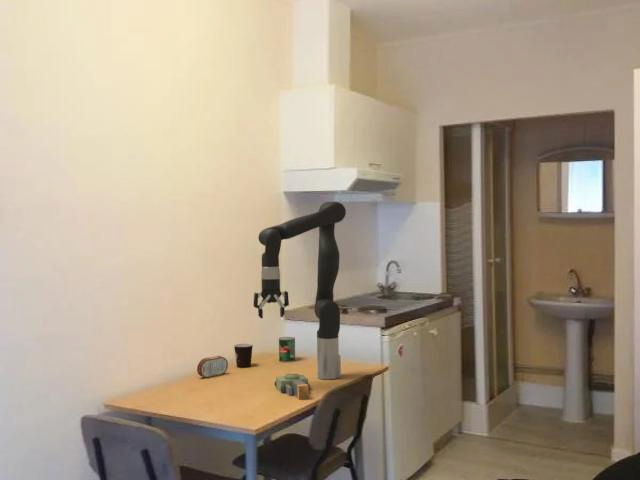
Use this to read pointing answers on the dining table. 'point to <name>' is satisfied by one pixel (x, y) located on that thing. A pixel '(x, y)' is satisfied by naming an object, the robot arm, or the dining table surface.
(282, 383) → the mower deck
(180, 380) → the dining table surface
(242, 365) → the coffee mug
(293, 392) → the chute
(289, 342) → the canned tomato
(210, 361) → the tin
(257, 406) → the dining table surface
